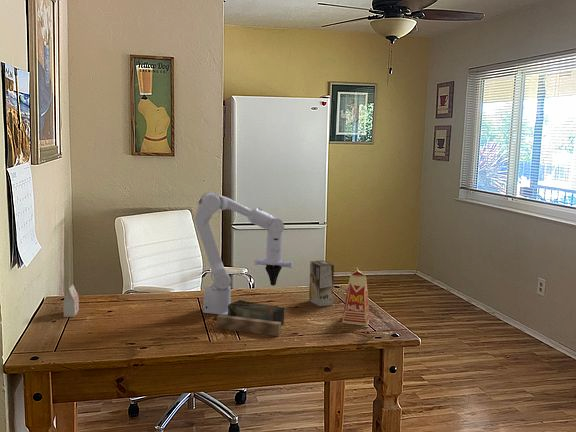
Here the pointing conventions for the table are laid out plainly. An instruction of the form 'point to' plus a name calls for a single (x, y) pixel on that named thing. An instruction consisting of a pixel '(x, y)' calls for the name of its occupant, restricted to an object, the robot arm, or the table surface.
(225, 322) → the walnut board
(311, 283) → the coffee box
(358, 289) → the milk carton
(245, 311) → the beverage carton
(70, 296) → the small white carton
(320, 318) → the table surface
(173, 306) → the table surface
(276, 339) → the table surface
